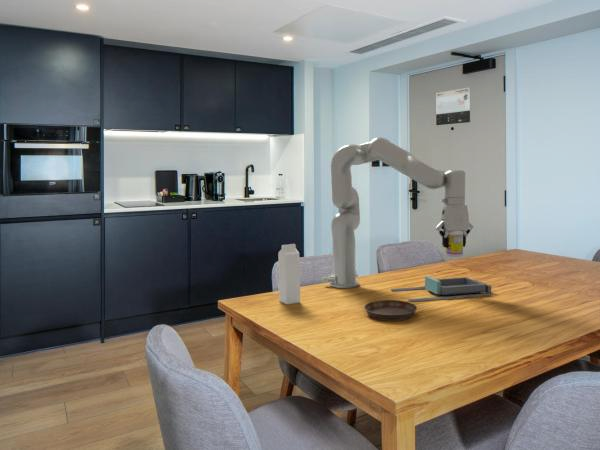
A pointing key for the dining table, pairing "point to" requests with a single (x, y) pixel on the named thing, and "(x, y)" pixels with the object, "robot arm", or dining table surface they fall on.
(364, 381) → the dining table surface
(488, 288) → the rails
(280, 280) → the milk
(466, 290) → the drawer
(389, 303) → the plant saucer
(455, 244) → the supplement bottle
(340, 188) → the robot arm
